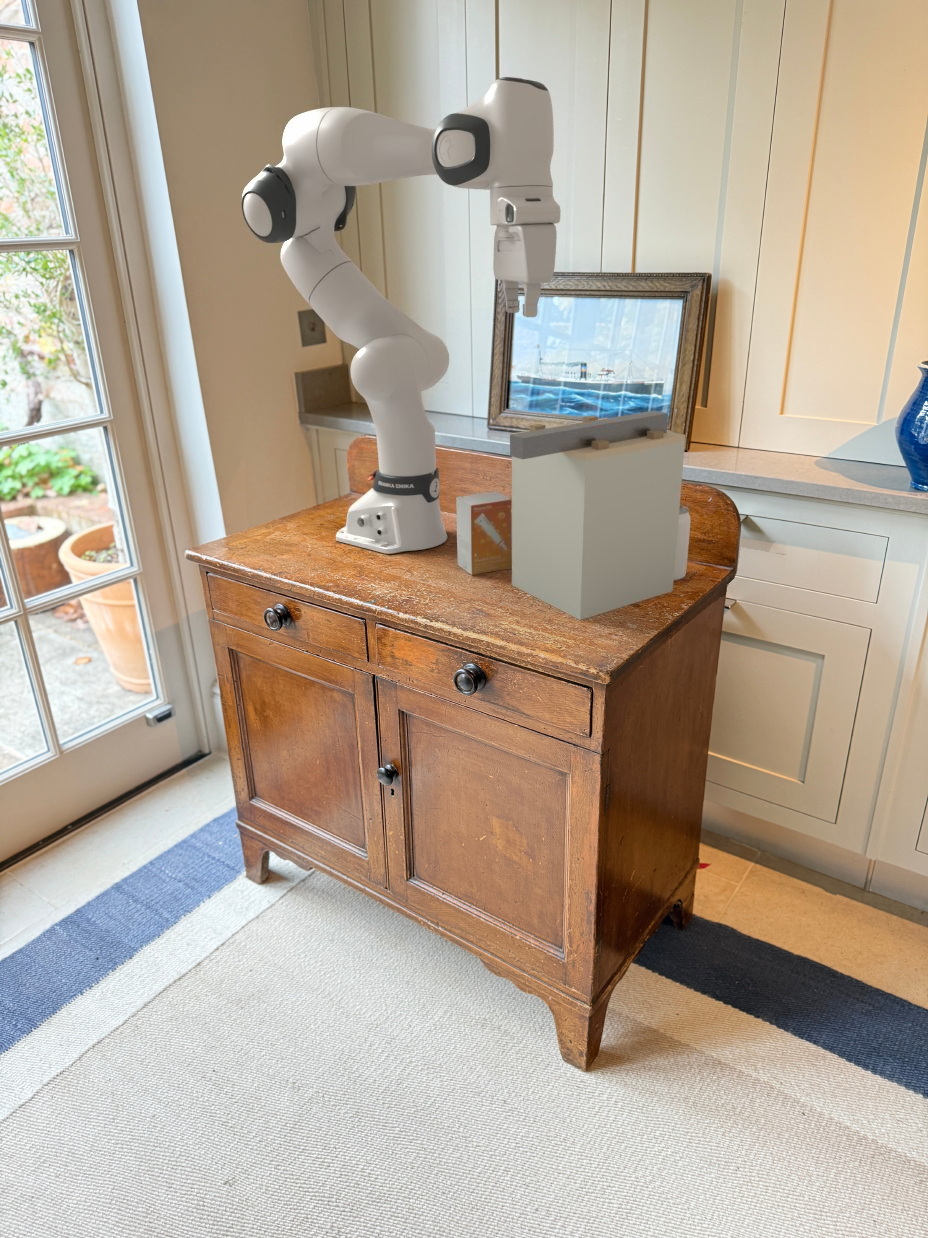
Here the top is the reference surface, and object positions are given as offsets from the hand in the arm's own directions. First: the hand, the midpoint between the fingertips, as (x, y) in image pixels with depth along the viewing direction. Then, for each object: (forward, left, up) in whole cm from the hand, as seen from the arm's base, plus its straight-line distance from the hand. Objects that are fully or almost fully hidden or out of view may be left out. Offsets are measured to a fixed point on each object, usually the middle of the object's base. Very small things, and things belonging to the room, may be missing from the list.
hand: (521, 314), depth 125 cm
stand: (+11, +5, -44) cm, 46 cm away
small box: (-10, +7, -44) cm, 46 cm away
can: (+21, +16, -44) cm, 51 cm away
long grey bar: (+12, -1, -18) cm, 22 cm away
